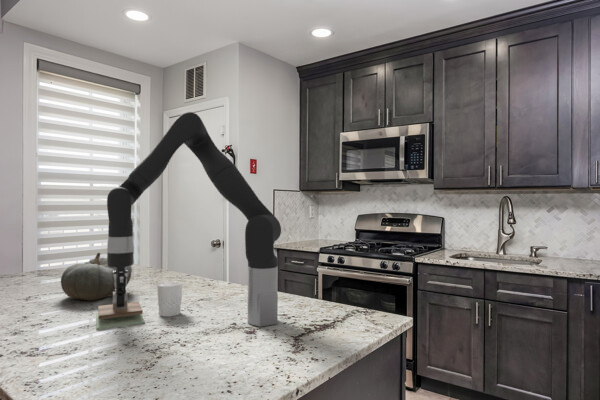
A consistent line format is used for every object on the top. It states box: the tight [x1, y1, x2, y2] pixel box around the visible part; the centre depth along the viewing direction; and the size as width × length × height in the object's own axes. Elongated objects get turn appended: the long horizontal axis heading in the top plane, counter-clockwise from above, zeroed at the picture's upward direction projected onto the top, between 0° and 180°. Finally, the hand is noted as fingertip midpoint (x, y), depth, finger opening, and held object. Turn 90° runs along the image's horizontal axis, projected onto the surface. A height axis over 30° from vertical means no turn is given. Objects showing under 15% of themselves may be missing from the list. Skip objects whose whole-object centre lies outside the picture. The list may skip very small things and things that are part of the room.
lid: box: [97, 290, 143, 319], centre depth 120 cm, size 12×12×6 cm
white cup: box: [156, 281, 183, 318], centre depth 126 cm, size 8×8×10 cm
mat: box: [95, 313, 146, 331], centre depth 120 cm, size 16×13×1 cm
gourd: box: [60, 252, 133, 302], centre depth 149 cm, size 25×25×17 cm
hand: (120, 304), depth 120 cm, fingers closed on lid, 4 cm apart
